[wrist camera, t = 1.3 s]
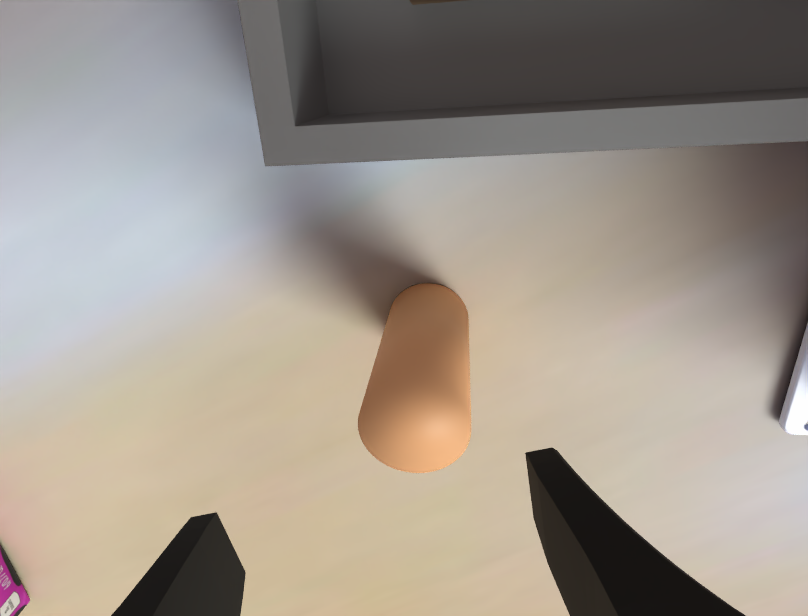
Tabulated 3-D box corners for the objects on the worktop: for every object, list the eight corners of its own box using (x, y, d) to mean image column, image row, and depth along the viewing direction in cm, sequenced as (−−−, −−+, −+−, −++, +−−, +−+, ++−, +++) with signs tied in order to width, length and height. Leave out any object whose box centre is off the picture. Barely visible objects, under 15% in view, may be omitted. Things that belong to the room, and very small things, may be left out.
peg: (468, 282, 20) (470, 380, 14) (468, 354, 21) (471, 474, 15) (386, 283, 20) (352, 380, 14) (392, 354, 22) (363, 471, 15)
